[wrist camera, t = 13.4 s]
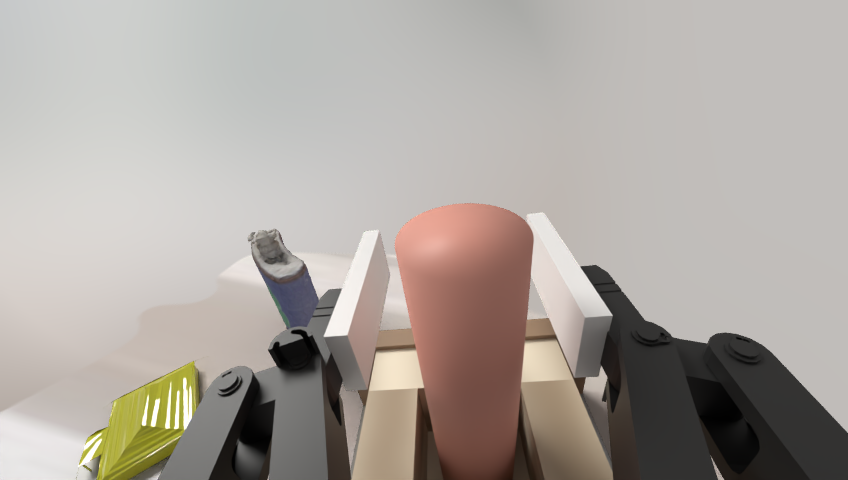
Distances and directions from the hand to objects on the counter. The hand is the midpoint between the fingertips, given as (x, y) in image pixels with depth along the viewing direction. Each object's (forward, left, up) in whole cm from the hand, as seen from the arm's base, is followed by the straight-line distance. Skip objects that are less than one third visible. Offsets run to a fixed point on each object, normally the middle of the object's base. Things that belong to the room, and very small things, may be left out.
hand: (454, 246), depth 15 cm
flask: (-14, +7, -12) cm, 20 cm away
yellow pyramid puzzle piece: (-23, -1, -13) cm, 26 cm away
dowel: (0, -5, -10) cm, 11 cm away
